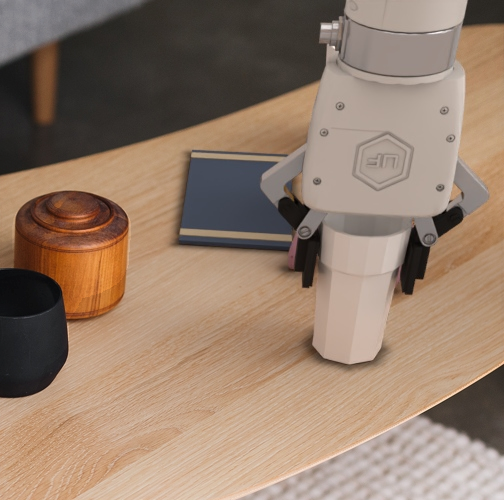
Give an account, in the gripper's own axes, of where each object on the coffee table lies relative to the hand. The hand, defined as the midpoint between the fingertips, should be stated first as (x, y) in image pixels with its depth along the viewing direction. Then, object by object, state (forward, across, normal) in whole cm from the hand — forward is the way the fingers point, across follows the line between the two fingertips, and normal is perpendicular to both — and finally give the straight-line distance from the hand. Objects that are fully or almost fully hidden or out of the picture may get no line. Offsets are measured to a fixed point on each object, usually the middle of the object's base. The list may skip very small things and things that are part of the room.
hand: (356, 280), depth 92 cm
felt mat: (+6, -9, +26) cm, 28 cm away
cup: (+6, 0, 0) cm, 6 cm away
